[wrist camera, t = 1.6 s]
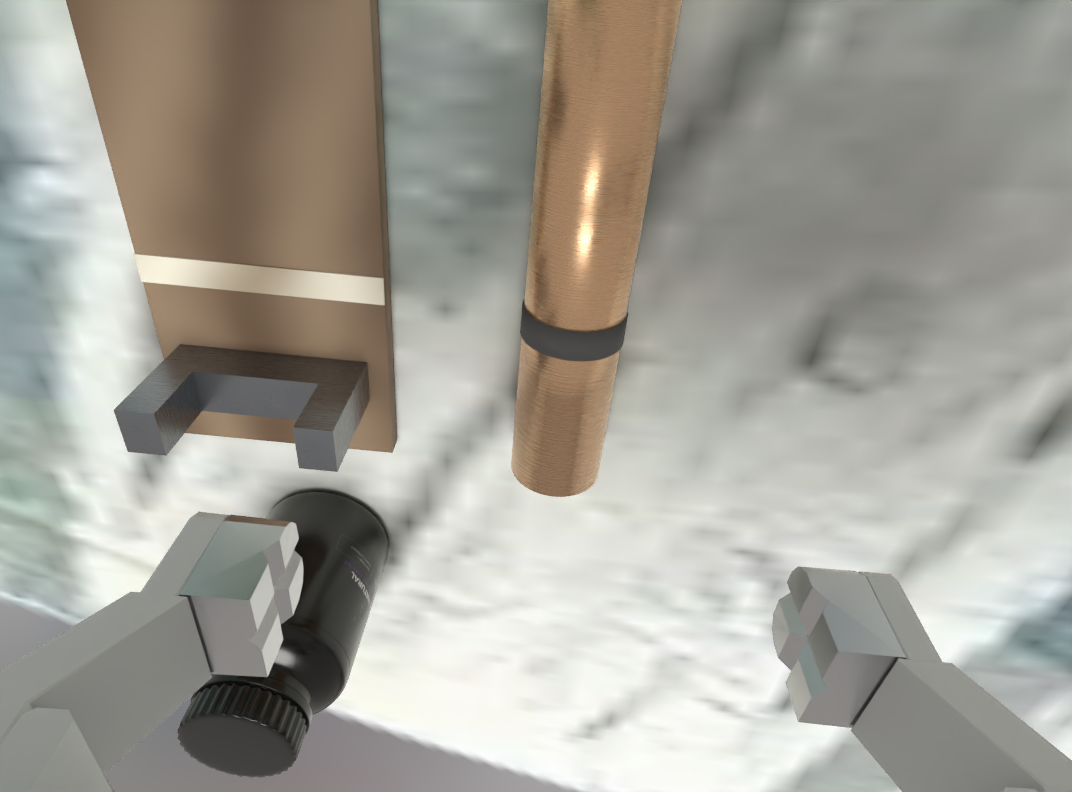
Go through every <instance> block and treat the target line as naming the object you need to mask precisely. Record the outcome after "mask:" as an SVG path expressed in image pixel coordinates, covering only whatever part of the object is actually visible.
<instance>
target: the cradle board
mask: <svg viewBox="0 0 1072 792" xmlns="http://www.w3.org/2000/svg"><path fill="white" fill-rule="evenodd" d="M66 3H67V6H68V10H69V14H70V17H71V21H72V24H73V28H74V32H75V35H76V39H77V43H78V46H79V50H80V54H81V57H82V61H83V65H84V68H85V72H86V76H87V79H88V83H89V87H90V90H91V94H92V98H93V101H94V105H95V108H96V112H97V116H98V119H99V123H100V127H101V130H102V134H103V138H104V141H105V145H106V149H107V152H108V156H109V160H110V163H111V167H112V171H113V174H114V178H115V182H116V185H117V189H118V192H119V196H120V200H121V203H122V207H123V211H124V214H125V218H126V222H127V225H128V229H129V233H130V236H131V240H132V244H133V247H134V251H135V254H134V257H135V261H136V264H137V268H138V271H139V275H140V279H141V282H143V284H144V287H145V291H146V295H147V298H148V302H149V306H150V309H151V313H152V317H153V320H154V324H155V328H156V331H157V335H158V339H159V342H160V346H161V350H162V353H163V357H164V360H165V359H166V358H167V357H168V356H169V355H170V354H171V353H172V352H173V351H174V350H175V349H176V348H177V347H178V346H179V345H180V344H185V345H196V346H206V347H216V348H227V349H237V350H247V351H258V352H268V353H278V354H289V355H299V356H310V357H320V358H330V359H341V360H351V361H361V362H368V376H369V390H370V401H369V403H368V405H367V408H366V410H365V412H364V414H363V416H362V419H361V421H360V423H359V425H358V428H357V430H356V432H355V434H354V436H353V439H352V441H351V443H350V445H349V447H348V448H349V449H360V450H370V451H381V452H391V453H393V450H394V447H395V444H396V441H397V426H396V404H395V381H394V359H393V336H392V314H391V291H390V269H389V246H388V224H387V201H386V179H385V156H384V134H383V111H382V89H381V66H380V44H379V21H378V0H66ZM296 421H297V420H292V419H281V418H271V417H260V416H250V415H239V414H229V413H218V412H208V411H202V412H201V413H200V414H199V416H198V417H197V418H196V419H195V421H194V422H193V423H192V424H191V426H190V427H189V428H188V429H187V430H186V432H185V433H192V434H203V435H213V436H224V437H234V438H245V439H255V440H266V441H276V442H287V443H295V438H294V431H293V426H294V425H295V423H296Z"/></svg>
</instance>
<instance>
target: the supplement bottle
mask: <svg viewBox="0 0 1072 792" xmlns="http://www.w3.org/2000/svg"><path fill="white" fill-rule="evenodd" d="M266 519H271V520H280V521H289V522H293V523H295V524H296V526H297V531H298V536H299V540H298V542H297V544H296V546H295V549H294V551H295V552H297V553H298V554H299V555H300V556H301V557H302V561H303V584H302V589H301V594H300V598H299V602H298V604H297V607H296V609H295V612H294V614H293V616H292V617H290V618H289V619H288V620H286V621H285V622H284V623H283V624H281V630H282V635H283V641H282V644H281V646H280V649H279V651H278V654H277V656H276V658H275V661H274V663H273V666H272V668H271V670H270V673H269V675H268V677H256V676H238V675H220V674H211V675H212V678H211V679H210V680H208V681H207V682H206V683H205V684H204V685H203V686H202V687H201V688H200V689H198V690H197V691H196V692H195V693H194V694H193V696H192V698H191V704H190V706H189V707H188V709H187V711H186V713H185V715H184V717H183V719H182V721H181V723H180V726H179V729H178V734H179V735H178V739H179V740H180V745H181V746H182V747H184V750H185V751H186V752H188V753H189V754H190V756H191V757H193V758H195V759H197V761H198V762H200V763H202V764H205V765H206V766H208V767H210V768H214V769H216V770H218V771H222V772H225V773H228V774H232V775H238V776H247V777H265V776H273V775H275V774H280V773H281V772H283V771H286V770H287V769H288V768H289V767H291V766H292V765H293V763H294V761H295V760H296V758H297V756H298V753H299V750H300V748H301V745H302V742H303V739H304V736H305V735H306V733H307V731H308V729H309V726H310V724H311V721H312V715H314V714H317V713H319V712H321V711H322V710H324V709H325V708H327V707H328V706H329V705H331V704H332V703H333V702H334V701H335V700H336V699H337V698H338V697H339V696H340V694H341V693H342V691H343V690H344V688H345V686H346V683H347V680H348V678H349V675H350V672H351V669H352V666H353V663H354V660H355V656H356V653H357V650H358V647H359V644H360V641H361V638H362V635H363V632H364V628H365V625H366V622H367V619H368V616H369V613H370V610H371V607H372V603H373V600H374V597H375V594H376V591H377V588H378V585H379V582H380V578H381V575H382V572H383V568H384V565H385V562H386V559H387V554H388V540H387V536H386V533H385V531H384V529H383V527H382V525H381V524H380V522H379V521H378V519H377V518H376V517H375V516H374V515H373V514H372V513H371V512H370V511H369V510H368V509H366V508H365V507H364V506H362V505H361V504H359V503H357V502H355V501H353V500H351V499H349V498H347V497H344V496H341V495H337V494H333V493H328V492H305V493H300V494H296V495H293V496H290V497H288V498H286V499H284V500H282V501H281V502H279V503H278V504H277V505H276V506H275V507H274V508H273V509H272V510H271V511H270V513H269V514H268V516H267V517H266Z"/></svg>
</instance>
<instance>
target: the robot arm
mask: <svg viewBox="0 0 1072 792" xmlns="http://www.w3.org/2000/svg"><path fill="white" fill-rule="evenodd" d="M298 540H299V536H298V531H297V526H296V524H295V523H293V522H289V521H280V520H271V519H263V518H254V517H245V516H236V515H223V514H214V513H206V512H198V513H197V514H195V515H194V516H192V517H191V518H190V519H189V520H188V522H187V523H186V525H185V526H184V528H183V529H182V531H181V532H180V534H179V535H178V537H177V538H176V540H175V541H174V543H173V544H172V546H171V547H170V549H169V550H168V552H167V553H166V555H165V556H164V558H163V559H162V561H161V562H160V564H159V565H158V567H157V568H156V570H155V571H154V573H153V574H152V576H151V577H150V579H149V580H148V582H147V583H146V585H145V586H144V588H143V589H142V591H141V592H130V593H128V594H126V595H125V596H123V597H121V598H120V599H118V600H116V601H115V602H113V603H111V604H110V605H108V606H106V607H105V608H103V609H101V610H100V611H98V612H96V613H95V614H93V615H91V616H90V617H88V618H87V619H85V620H83V621H82V622H80V623H78V624H77V625H75V626H73V627H72V628H70V629H68V630H67V631H65V632H63V633H62V634H60V635H58V636H57V637H55V638H53V639H52V640H50V641H48V642H47V643H45V644H44V645H42V646H40V647H38V648H37V649H35V650H33V651H32V652H30V653H28V654H27V655H25V656H24V657H22V658H20V659H19V660H17V661H15V662H14V663H12V664H10V665H9V666H7V667H6V668H4V669H2V670H0V792H114V791H113V789H112V787H111V786H110V784H109V782H108V780H107V778H106V776H105V773H106V772H108V771H109V770H110V769H111V768H112V767H113V766H114V765H115V764H116V763H118V762H119V761H120V760H121V759H122V758H123V757H124V756H125V755H126V754H127V753H129V752H130V751H131V750H132V749H133V748H134V747H135V746H136V745H137V744H138V743H140V742H141V741H142V740H143V739H144V738H145V737H146V736H147V735H148V734H150V733H151V732H152V731H153V730H154V729H155V728H156V727H157V726H158V725H160V724H161V723H162V722H163V721H164V720H165V719H166V718H167V717H169V715H171V714H172V713H173V712H174V711H175V710H176V709H177V708H178V707H180V706H181V705H182V704H183V703H184V702H185V701H186V700H187V699H188V698H190V697H191V696H192V695H193V694H194V693H195V692H196V691H197V690H198V689H200V688H201V687H202V686H203V685H204V684H205V683H206V682H207V681H208V680H210V679H211V678H212V675H211V674H220V675H238V676H256V677H268V675H269V673H270V670H271V668H272V666H273V663H274V661H275V658H276V656H277V654H278V651H279V649H280V646H281V644H282V641H283V635H282V630H281V624H283V623H284V622H285V621H286V620H288V619H289V618H290V617H292V616H293V614H294V612H295V609H296V607H297V604H298V602H299V598H300V594H301V589H302V584H303V561H302V557H301V556H300V555H299V554H298V553H297V552H295V551H294V549H295V546H296V544H297V542H298ZM787 583H788V586H789V589H790V592H791V593H789V594H788V595H786V596H785V597H783V598H781V599H780V600H779V601H778V604H777V606H776V609H775V611H774V614H773V626H772V633H773V640H774V645H775V649H776V652H777V656H778V658H779V659H780V660H781V661H782V662H783V663H784V664H785V665H786V666H787V667H788V668H789V669H790V670H791V673H790V675H789V677H788V679H787V681H786V685H787V688H788V691H789V695H790V698H791V701H792V704H793V707H794V710H795V714H796V717H797V720H798V722H804V723H813V724H822V725H831V726H840V727H849V728H852V729H851V731H852V732H853V734H854V735H855V736H856V737H857V738H858V740H859V741H860V742H861V743H862V744H863V746H864V747H865V748H866V749H867V750H868V751H869V753H870V754H871V755H872V756H873V757H874V759H875V760H876V761H877V762H878V763H879V765H880V766H881V767H882V768H883V769H884V770H885V772H886V773H887V774H888V775H889V776H890V778H891V779H892V780H893V781H894V782H895V784H896V785H897V786H898V787H899V788H900V789H901V791H902V792H1072V760H1070V759H1069V758H1068V757H1067V756H1065V755H1064V754H1063V753H1062V752H1060V751H1059V750H1058V749H1057V748H1056V747H1054V746H1053V745H1052V744H1051V743H1049V742H1048V741H1047V740H1046V739H1044V738H1043V737H1042V736H1041V735H1040V734H1038V733H1037V732H1036V731H1035V730H1033V729H1032V728H1031V727H1030V726H1028V725H1027V724H1026V723H1025V722H1024V721H1022V720H1021V719H1020V718H1019V717H1017V716H1016V715H1015V714H1014V713H1012V712H1011V711H1010V710H1009V709H1007V708H1006V707H1005V706H1004V705H1003V704H1001V703H1000V702H999V701H998V700H996V699H995V698H994V697H993V696H991V695H990V694H989V693H988V692H987V691H985V690H984V689H983V688H982V687H980V686H979V685H978V684H977V683H975V682H974V681H973V680H972V679H971V678H969V677H968V676H967V675H966V674H964V673H963V672H962V671H961V670H959V669H958V668H957V667H956V666H955V665H953V664H952V663H945V662H942V661H941V659H940V657H939V655H938V653H937V651H936V650H935V648H934V646H933V644H932V642H931V640H930V639H929V637H928V635H927V633H926V631H925V630H924V628H923V626H922V624H921V622H920V620H919V619H918V617H917V615H916V613H915V611H914V609H913V608H912V606H911V604H910V602H909V600H908V598H907V597H906V595H905V593H904V591H903V589H902V587H901V586H900V584H899V582H898V580H897V579H896V578H894V577H893V576H892V575H891V574H882V573H870V572H856V571H847V570H834V569H822V568H809V567H797V568H796V569H795V570H793V571H792V573H791V575H790V577H789V579H788V581H787Z"/></svg>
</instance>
